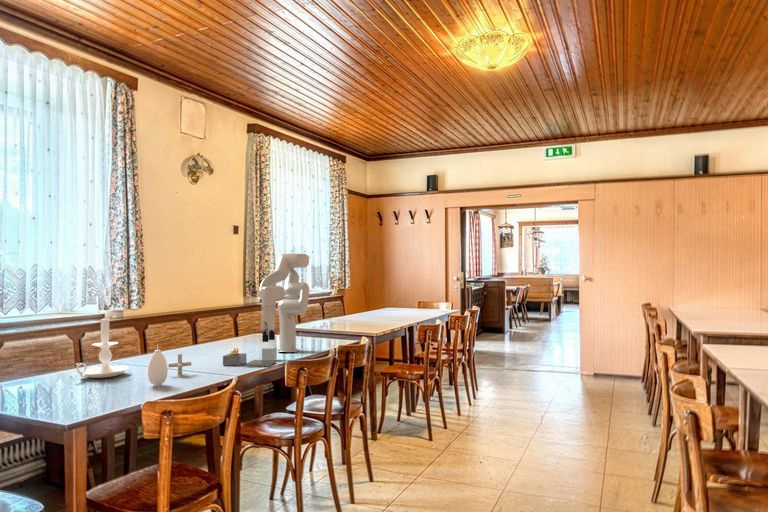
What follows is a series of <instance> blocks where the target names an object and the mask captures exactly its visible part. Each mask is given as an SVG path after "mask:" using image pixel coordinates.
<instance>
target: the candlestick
mask: <svg viewBox="0 0 768 512" xmlns="http://www.w3.org/2000/svg"><path fill="white" fill-rule="evenodd" d="M109 338H111V337H110V317H108V318H102V319H101V318H100V340H101V342H94V343H91V346H95V347H98V348H100V351H99V353H98V356H97V357H98V359H99V361H100V363H102V365H101V366H97V367H91V368H88V366H87V364H86V363H84V362H80V363H77V362H76V363H75V365H76V372H77V373H78V374H79V376H80V378H86V377H88V378H93V379H106V378H112V377H116V376H119V375H122V374H124V373H125V372H126V371H128V370H129V369H130V367H129V366H126V365H109V362H110V361H111V359H112V358H113V353H112V352H111V350H110V348H111V347H113V346H115V345H117V344H119V341H109ZM82 365H83V366H84V369H83V370H81V371H80V366H82Z"/></svg>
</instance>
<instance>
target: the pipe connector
mask: <svg viewBox="0 0 768 512" xmlns="http://www.w3.org/2000/svg"><path fill="white" fill-rule="evenodd" d="M190 366H192V361H185V362H183V354H182V353H178V354H177V362H172V363H167V368H177V376H178V375H182V376H183V367H190Z"/></svg>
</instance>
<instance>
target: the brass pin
mask: <svg viewBox="0 0 768 512" xmlns="http://www.w3.org/2000/svg"><path fill="white" fill-rule="evenodd" d="M230 353H231V355H238V353H239V348H231V349H230Z"/></svg>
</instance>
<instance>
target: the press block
mask: <svg viewBox="0 0 768 512" xmlns="http://www.w3.org/2000/svg"><path fill="white" fill-rule="evenodd" d="M245 362H246V363H247V353H244V352H243V353H239V352H238V355H231V352H230V353H227V354H225V355H223V356H222V366H223V365H241V364H243V363H245ZM246 363H245V364H246ZM243 365H244V364H243ZM241 366H242V365H241Z"/></svg>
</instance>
